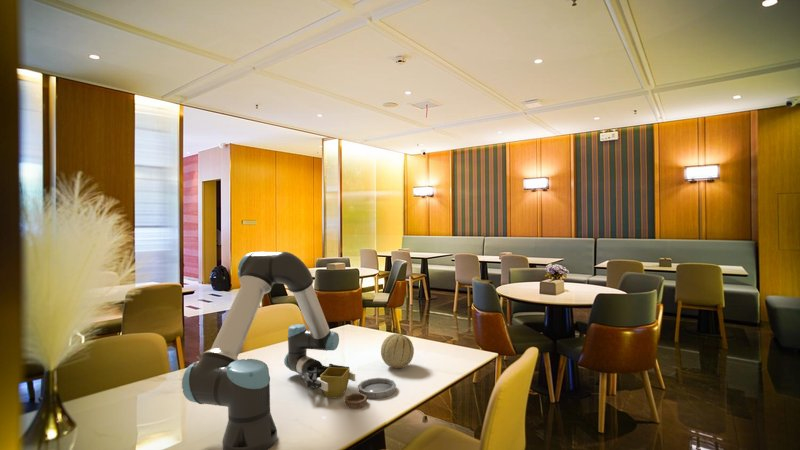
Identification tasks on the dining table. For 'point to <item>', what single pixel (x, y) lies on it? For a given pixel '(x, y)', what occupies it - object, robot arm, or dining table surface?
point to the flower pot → (335, 381)
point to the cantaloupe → (397, 350)
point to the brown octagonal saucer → (355, 400)
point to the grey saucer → (377, 387)
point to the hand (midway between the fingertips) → (341, 382)
